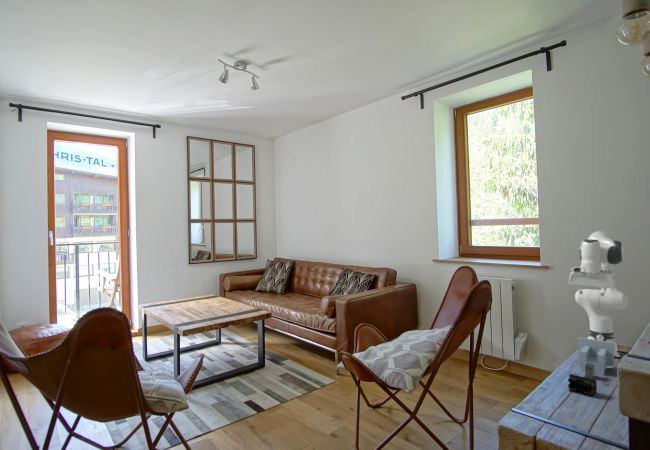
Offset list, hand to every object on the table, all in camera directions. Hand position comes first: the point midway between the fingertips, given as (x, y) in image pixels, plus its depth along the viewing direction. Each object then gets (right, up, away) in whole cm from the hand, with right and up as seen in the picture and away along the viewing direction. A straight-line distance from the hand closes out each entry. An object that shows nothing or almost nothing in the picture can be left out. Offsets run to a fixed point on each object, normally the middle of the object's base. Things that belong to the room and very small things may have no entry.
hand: (591, 295), depth 195 cm
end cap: (-26, -39, -29) cm, 55 cm away
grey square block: (+2, -40, +1) cm, 40 cm away
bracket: (-9, -40, -11) cm, 42 cm away
